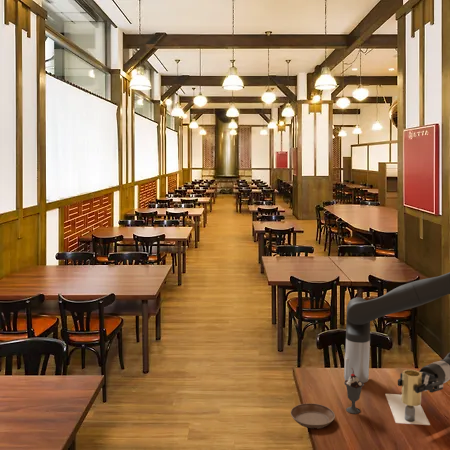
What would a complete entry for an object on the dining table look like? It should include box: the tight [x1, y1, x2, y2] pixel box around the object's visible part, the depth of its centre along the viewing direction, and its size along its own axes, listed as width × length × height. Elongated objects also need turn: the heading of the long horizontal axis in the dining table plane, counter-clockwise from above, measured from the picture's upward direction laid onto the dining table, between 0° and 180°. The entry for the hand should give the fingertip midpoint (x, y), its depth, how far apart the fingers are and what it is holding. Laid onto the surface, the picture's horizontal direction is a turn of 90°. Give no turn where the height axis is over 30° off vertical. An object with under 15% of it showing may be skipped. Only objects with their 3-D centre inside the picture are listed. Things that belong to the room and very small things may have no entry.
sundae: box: [343, 368, 365, 415], centre depth 187 cm, size 7×7×15 cm
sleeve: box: [401, 369, 422, 406], centre depth 178 cm, size 6×6×10 cm
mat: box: [385, 393, 431, 426], centre depth 187 cm, size 11×22×1 cm, turn 173°
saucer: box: [290, 402, 336, 429], centre depth 181 cm, size 15×15×3 cm
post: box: [405, 405, 415, 422], centre depth 179 cm, size 3×3×5 cm
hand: (407, 386), depth 176 cm, fingers closed on sleeve, 6 cm apart
